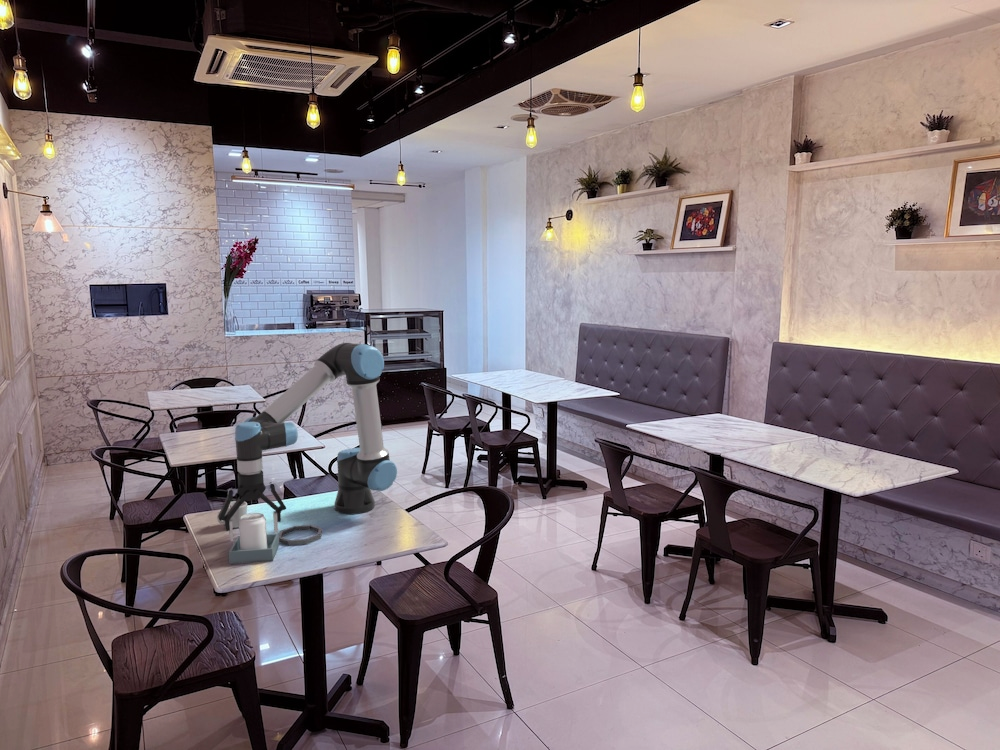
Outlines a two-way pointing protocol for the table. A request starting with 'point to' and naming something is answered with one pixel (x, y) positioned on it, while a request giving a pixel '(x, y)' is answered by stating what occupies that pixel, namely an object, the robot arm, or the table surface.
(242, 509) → the cup
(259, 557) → the bin
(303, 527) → the collar
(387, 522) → the table surface
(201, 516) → the table surface
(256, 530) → the beverage can
